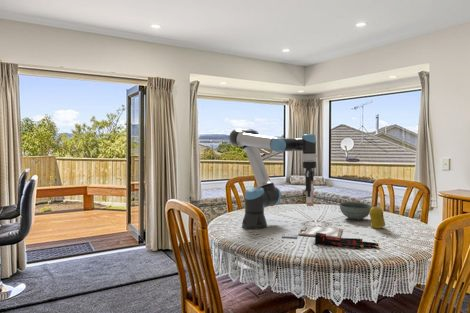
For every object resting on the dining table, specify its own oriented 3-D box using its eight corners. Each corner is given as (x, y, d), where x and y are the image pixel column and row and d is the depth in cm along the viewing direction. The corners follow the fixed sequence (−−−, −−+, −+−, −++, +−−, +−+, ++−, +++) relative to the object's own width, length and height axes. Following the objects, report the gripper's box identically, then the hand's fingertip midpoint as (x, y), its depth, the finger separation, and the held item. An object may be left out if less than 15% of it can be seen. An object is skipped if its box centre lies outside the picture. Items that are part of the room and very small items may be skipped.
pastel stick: (305, 205, 195) (305, 181, 194) (307, 204, 199) (306, 180, 198) (313, 206, 193) (312, 181, 193) (314, 205, 197) (313, 180, 197)
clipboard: (298, 235, 189) (298, 232, 189) (304, 226, 207) (304, 223, 207) (339, 239, 181) (339, 235, 181) (342, 230, 199) (342, 227, 199)
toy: (377, 249, 170) (315, 241, 178) (378, 239, 169) (316, 231, 178) (379, 254, 162) (314, 246, 170) (380, 244, 161) (315, 236, 170)
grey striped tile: (281, 237, 184) (281, 236, 184) (282, 234, 190) (282, 233, 190) (296, 238, 183) (296, 237, 183) (297, 235, 189) (297, 234, 189)
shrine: (382, 231, 196) (382, 205, 195) (367, 229, 200) (367, 204, 200) (386, 227, 205) (386, 202, 204) (372, 225, 210) (372, 201, 209)
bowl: (355, 214, 241) (355, 200, 240) (379, 220, 222) (379, 205, 222) (332, 217, 232) (332, 203, 232) (355, 224, 213) (355, 208, 213)
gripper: (313, 161, 186) (314, 204, 187) (318, 160, 202) (319, 199, 202) (299, 161, 189) (300, 204, 189) (305, 160, 205) (306, 199, 205)
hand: (310, 201), depth 196 cm, fingers closed on pastel stick, 4 cm apart
